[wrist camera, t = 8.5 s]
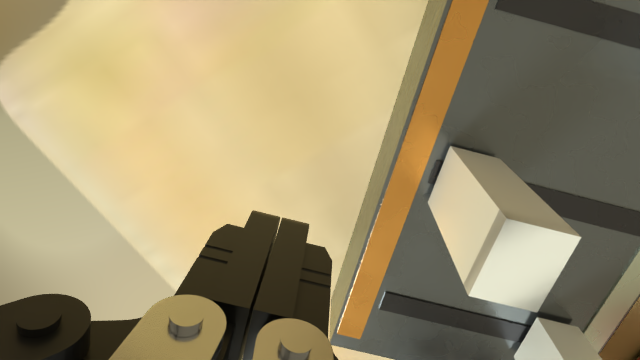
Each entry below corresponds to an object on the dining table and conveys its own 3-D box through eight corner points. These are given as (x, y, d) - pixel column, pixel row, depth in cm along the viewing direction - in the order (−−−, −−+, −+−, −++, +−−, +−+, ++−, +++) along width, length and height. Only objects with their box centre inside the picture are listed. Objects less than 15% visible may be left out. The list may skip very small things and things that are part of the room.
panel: (331, 299, 28) (329, 345, 24) (464, -110, 18) (495, -141, 15) (538, 348, 28) (568, 400, 25) (768, -22, 19) (872, -30, 15)
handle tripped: (427, 202, 20) (468, 295, 13) (450, 145, 19) (506, 218, 12) (474, 214, 20) (537, 312, 13) (499, 158, 19) (581, 237, 12)
